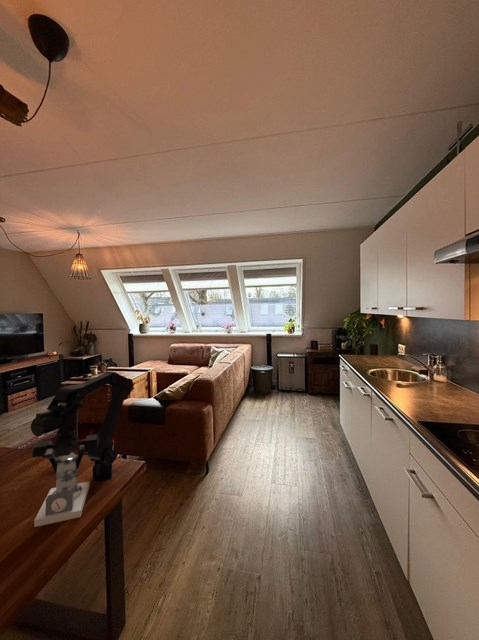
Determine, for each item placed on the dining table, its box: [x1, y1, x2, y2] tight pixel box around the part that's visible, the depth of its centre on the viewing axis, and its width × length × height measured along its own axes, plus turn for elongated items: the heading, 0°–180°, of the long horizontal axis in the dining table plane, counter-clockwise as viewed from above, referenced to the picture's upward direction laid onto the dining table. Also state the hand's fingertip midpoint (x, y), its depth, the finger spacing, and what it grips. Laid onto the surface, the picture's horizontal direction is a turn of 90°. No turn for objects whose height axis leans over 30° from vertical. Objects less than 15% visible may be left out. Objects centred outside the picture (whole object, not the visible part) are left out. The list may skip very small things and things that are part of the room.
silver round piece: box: [55, 473, 78, 494], centre depth 89 cm, size 6×6×5 cm
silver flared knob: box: [56, 453, 78, 479], centre depth 89 cm, size 6×6×5 cm
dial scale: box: [33, 481, 91, 528], centre depth 87 cm, size 12×16×7 cm
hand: (67, 470), depth 89 cm, fingers closed on silver flared knob, 6 cm apart
